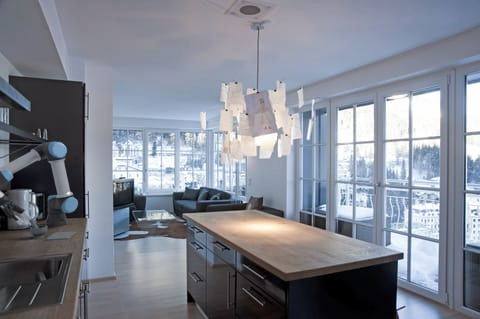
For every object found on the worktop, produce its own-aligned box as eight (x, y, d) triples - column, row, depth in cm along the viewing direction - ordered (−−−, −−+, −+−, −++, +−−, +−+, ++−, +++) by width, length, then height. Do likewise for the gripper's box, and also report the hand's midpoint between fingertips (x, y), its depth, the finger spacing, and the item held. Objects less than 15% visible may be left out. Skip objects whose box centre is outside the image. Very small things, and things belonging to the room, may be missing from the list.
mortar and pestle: (50, 235, 220) (50, 217, 220) (41, 239, 211) (40, 220, 211) (34, 235, 221) (34, 217, 221) (24, 238, 212) (24, 220, 211)
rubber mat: (54, 233, 227) (54, 232, 227) (75, 232, 231) (75, 231, 231) (45, 240, 208) (45, 239, 208) (68, 238, 211) (68, 238, 211)
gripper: (3, 201, 221) (28, 222, 225) (-15, 206, 197) (13, 230, 201) (12, 192, 222) (37, 214, 226) (-5, 197, 198) (23, 220, 202)
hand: (26, 221), depth 213 cm, fingers open, 13 cm apart
